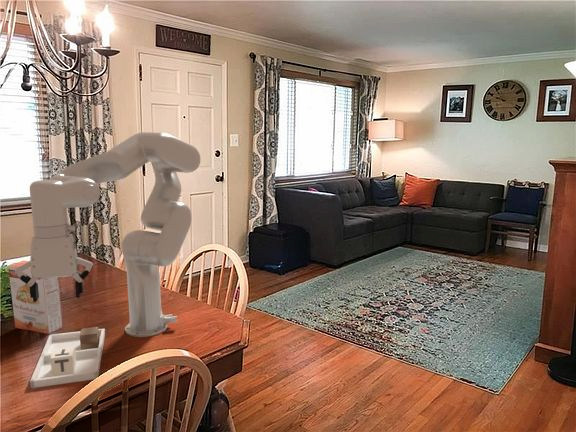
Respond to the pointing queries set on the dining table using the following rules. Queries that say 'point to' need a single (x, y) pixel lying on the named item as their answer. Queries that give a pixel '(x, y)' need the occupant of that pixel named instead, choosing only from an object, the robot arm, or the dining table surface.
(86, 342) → the walnut block
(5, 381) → the dining table surface
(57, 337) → the organizer
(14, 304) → the cracker box
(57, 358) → the letter cube
